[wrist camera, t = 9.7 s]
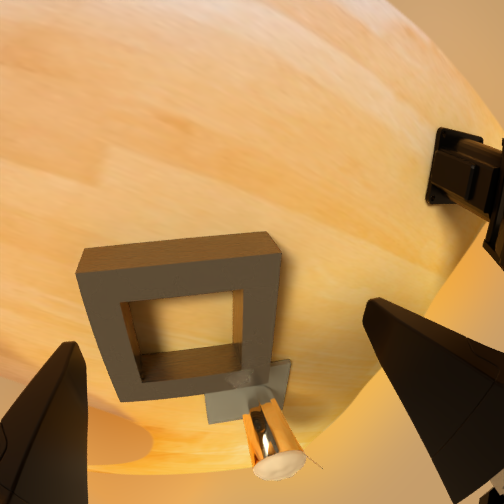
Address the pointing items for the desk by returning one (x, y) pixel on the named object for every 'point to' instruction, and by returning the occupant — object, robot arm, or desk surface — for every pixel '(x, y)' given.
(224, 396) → the pad
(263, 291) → the collar
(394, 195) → the desk surface
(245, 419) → the milkshake
